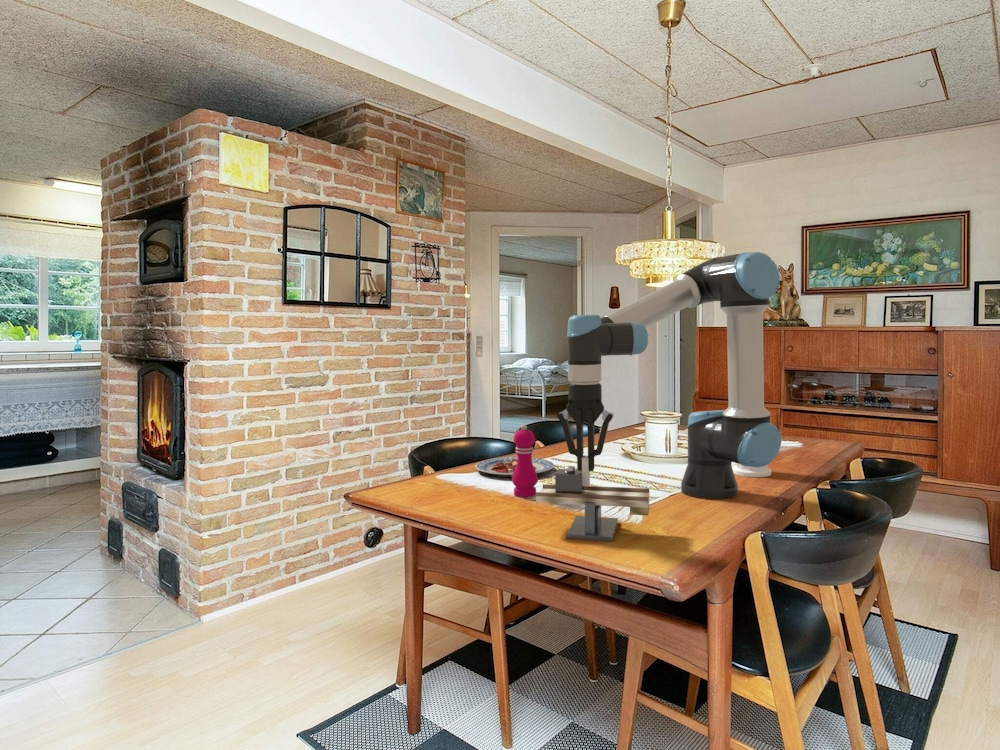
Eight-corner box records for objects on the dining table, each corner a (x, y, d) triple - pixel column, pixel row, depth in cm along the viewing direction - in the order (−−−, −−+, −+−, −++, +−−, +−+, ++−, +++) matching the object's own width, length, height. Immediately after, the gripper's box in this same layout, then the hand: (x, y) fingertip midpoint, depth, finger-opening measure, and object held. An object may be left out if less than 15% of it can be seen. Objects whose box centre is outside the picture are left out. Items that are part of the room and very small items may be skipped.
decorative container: (764, 479, 192) (765, 420, 190) (726, 473, 199) (726, 417, 198) (776, 472, 201) (777, 415, 199) (739, 467, 208) (740, 412, 207)
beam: (649, 506, 147) (649, 488, 146) (648, 516, 139) (647, 497, 139) (543, 501, 153) (543, 484, 153) (536, 511, 146) (536, 492, 145)
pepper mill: (535, 498, 174) (535, 426, 173) (510, 497, 176) (508, 426, 174) (539, 491, 181) (538, 422, 180) (514, 490, 183) (513, 422, 181)
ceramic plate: (460, 470, 211) (460, 461, 211) (522, 460, 226) (522, 451, 226) (505, 485, 190) (505, 475, 190) (570, 472, 205) (570, 463, 205)
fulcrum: (617, 522, 152) (617, 489, 151) (612, 541, 139) (612, 505, 138) (576, 519, 155) (576, 487, 154) (566, 538, 141) (566, 503, 141)
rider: (584, 490, 149) (584, 464, 148) (581, 496, 144) (581, 469, 144) (559, 489, 150) (558, 464, 150) (555, 495, 146) (555, 468, 145)
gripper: (615, 381, 146) (615, 481, 148) (559, 381, 150) (560, 479, 152) (612, 384, 139) (613, 490, 141) (553, 384, 143) (555, 487, 144)
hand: (586, 484), depth 146 cm, fingers closed
